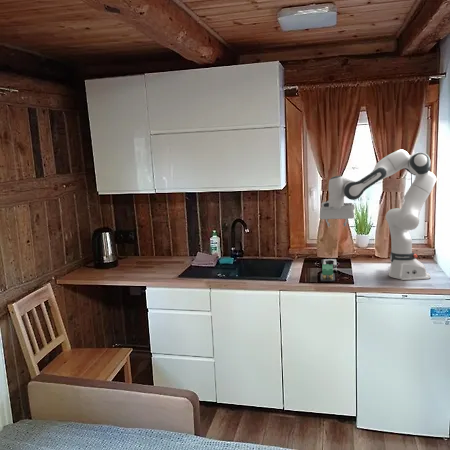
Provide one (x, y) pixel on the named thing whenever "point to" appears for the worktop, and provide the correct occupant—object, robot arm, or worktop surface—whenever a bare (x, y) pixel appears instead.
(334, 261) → the graphics card
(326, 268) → the green board
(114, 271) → the worktop surface
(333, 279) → the chassis
